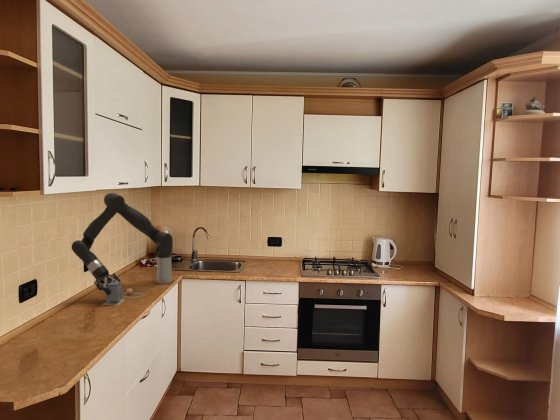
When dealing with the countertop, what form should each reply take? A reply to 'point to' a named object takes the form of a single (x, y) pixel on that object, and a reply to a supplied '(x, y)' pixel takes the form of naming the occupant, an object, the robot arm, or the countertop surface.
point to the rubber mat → (113, 302)
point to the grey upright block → (114, 291)
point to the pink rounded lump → (129, 292)
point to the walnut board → (135, 295)
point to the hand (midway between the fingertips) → (115, 291)
